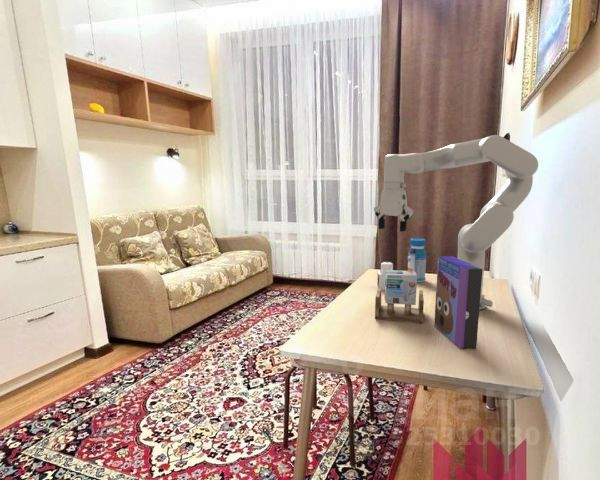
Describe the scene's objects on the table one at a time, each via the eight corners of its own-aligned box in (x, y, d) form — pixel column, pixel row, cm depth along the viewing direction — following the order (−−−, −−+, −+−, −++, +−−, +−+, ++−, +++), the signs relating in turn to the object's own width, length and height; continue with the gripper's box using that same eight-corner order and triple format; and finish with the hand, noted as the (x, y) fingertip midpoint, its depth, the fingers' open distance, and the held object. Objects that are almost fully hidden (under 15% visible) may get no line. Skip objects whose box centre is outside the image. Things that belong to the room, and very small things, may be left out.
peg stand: (422, 323, 129) (423, 300, 128) (374, 318, 133) (375, 297, 132) (421, 311, 140) (422, 290, 139) (377, 307, 145) (378, 287, 143)
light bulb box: (385, 303, 134) (386, 274, 132) (384, 297, 140) (385, 269, 139) (416, 305, 132) (418, 275, 130) (413, 299, 139) (415, 270, 137)
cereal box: (434, 326, 127) (438, 255, 123) (447, 325, 127) (452, 255, 123) (460, 349, 110) (466, 268, 106) (476, 348, 110) (482, 268, 106)
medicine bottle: (377, 285, 174) (378, 259, 172) (393, 286, 173) (394, 260, 171) (378, 290, 167) (379, 263, 165) (394, 290, 166) (395, 264, 164)
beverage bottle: (422, 283, 176) (425, 241, 173) (404, 281, 180) (406, 239, 177) (427, 279, 183) (429, 238, 180) (409, 277, 188) (411, 237, 184)
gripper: (418, 186, 144) (416, 231, 147) (380, 186, 157) (379, 227, 160) (408, 187, 139) (406, 233, 142) (369, 186, 152) (368, 228, 154)
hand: (391, 229), depth 151 cm, fingers open, 9 cm apart
